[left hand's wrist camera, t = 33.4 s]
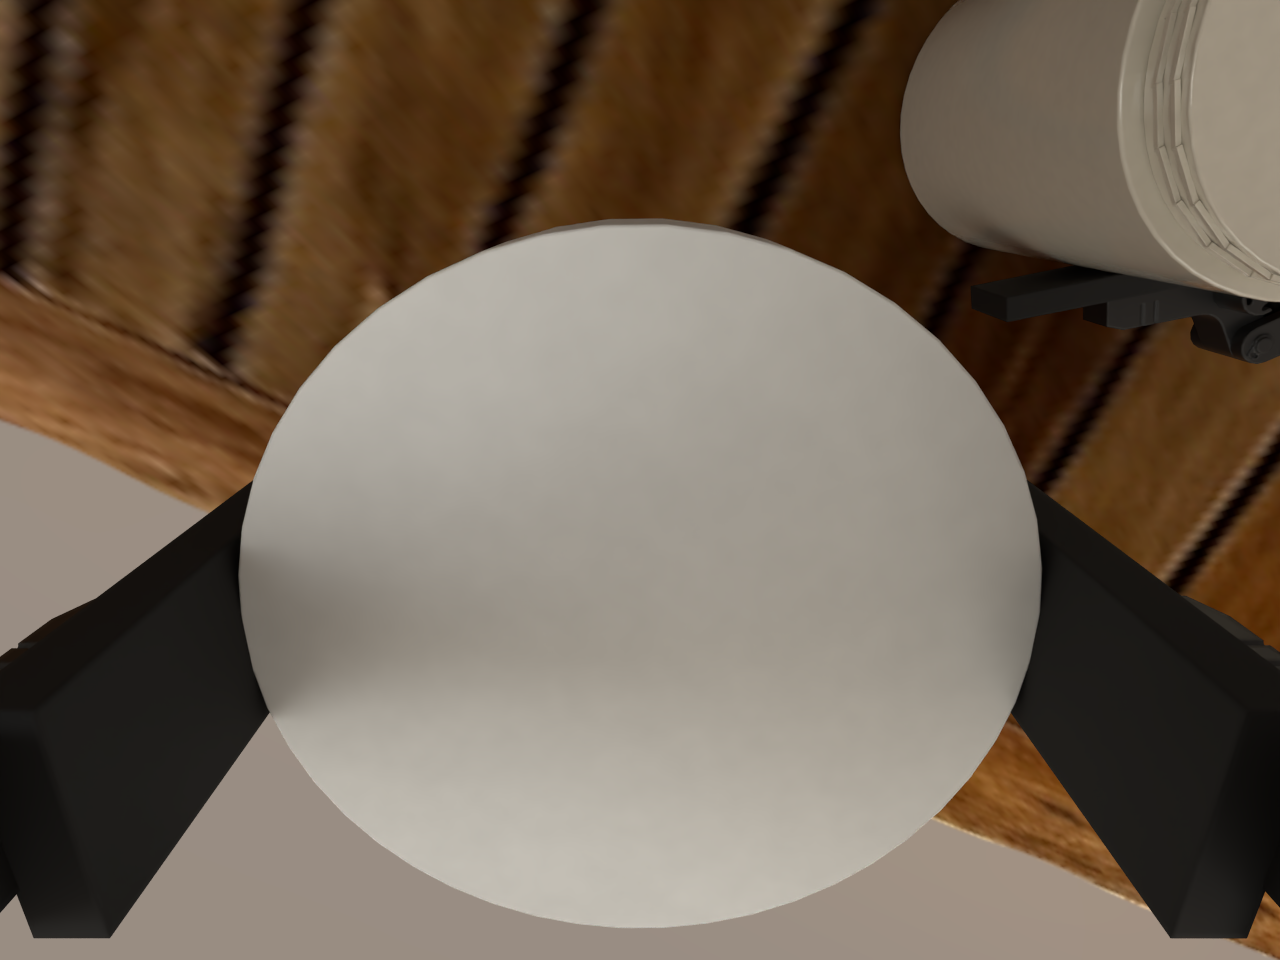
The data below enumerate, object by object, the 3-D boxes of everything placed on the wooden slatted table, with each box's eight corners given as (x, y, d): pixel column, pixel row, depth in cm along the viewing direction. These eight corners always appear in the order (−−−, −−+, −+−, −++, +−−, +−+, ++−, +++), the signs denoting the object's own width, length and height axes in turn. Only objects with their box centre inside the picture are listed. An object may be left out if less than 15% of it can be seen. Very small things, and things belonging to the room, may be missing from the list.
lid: (772, 915, 14) (789, 1007, 13) (214, 713, 13) (153, 788, 11) (1135, 425, 11) (1219, 466, 9) (436, 64, 9) (394, 37, 8)
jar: (879, 7, 27) (1155, -195, 13) (1165, -82, 26) (1818, -413, 12) (919, 280, 30) (1171, 368, 16) (1173, 210, 29) (1684, 237, 15)
